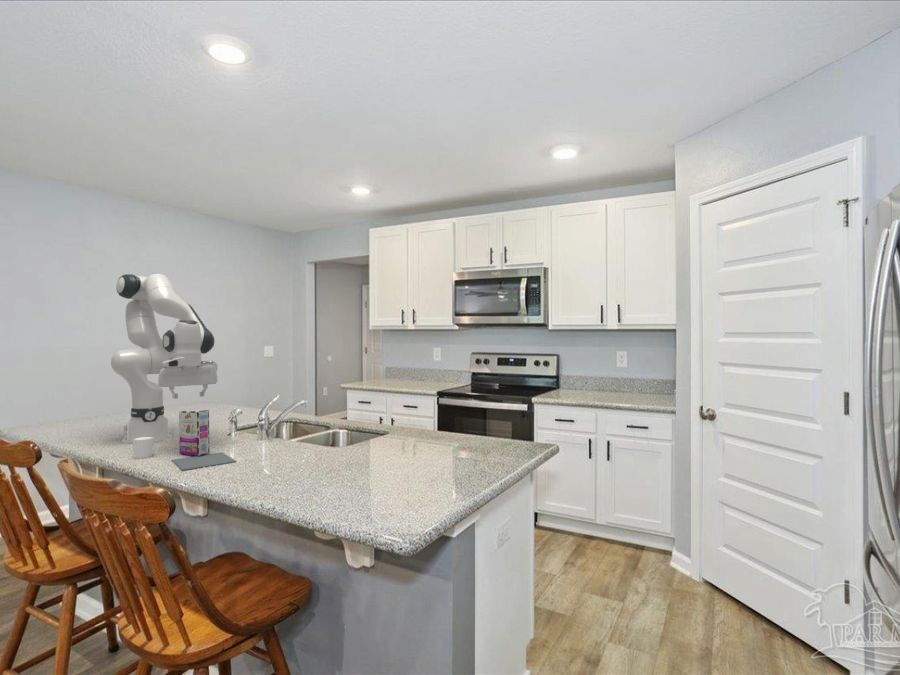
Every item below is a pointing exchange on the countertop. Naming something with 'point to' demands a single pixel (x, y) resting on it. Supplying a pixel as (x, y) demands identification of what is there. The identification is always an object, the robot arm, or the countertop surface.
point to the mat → (202, 461)
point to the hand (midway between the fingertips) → (188, 397)
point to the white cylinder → (143, 447)
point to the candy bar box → (194, 432)
